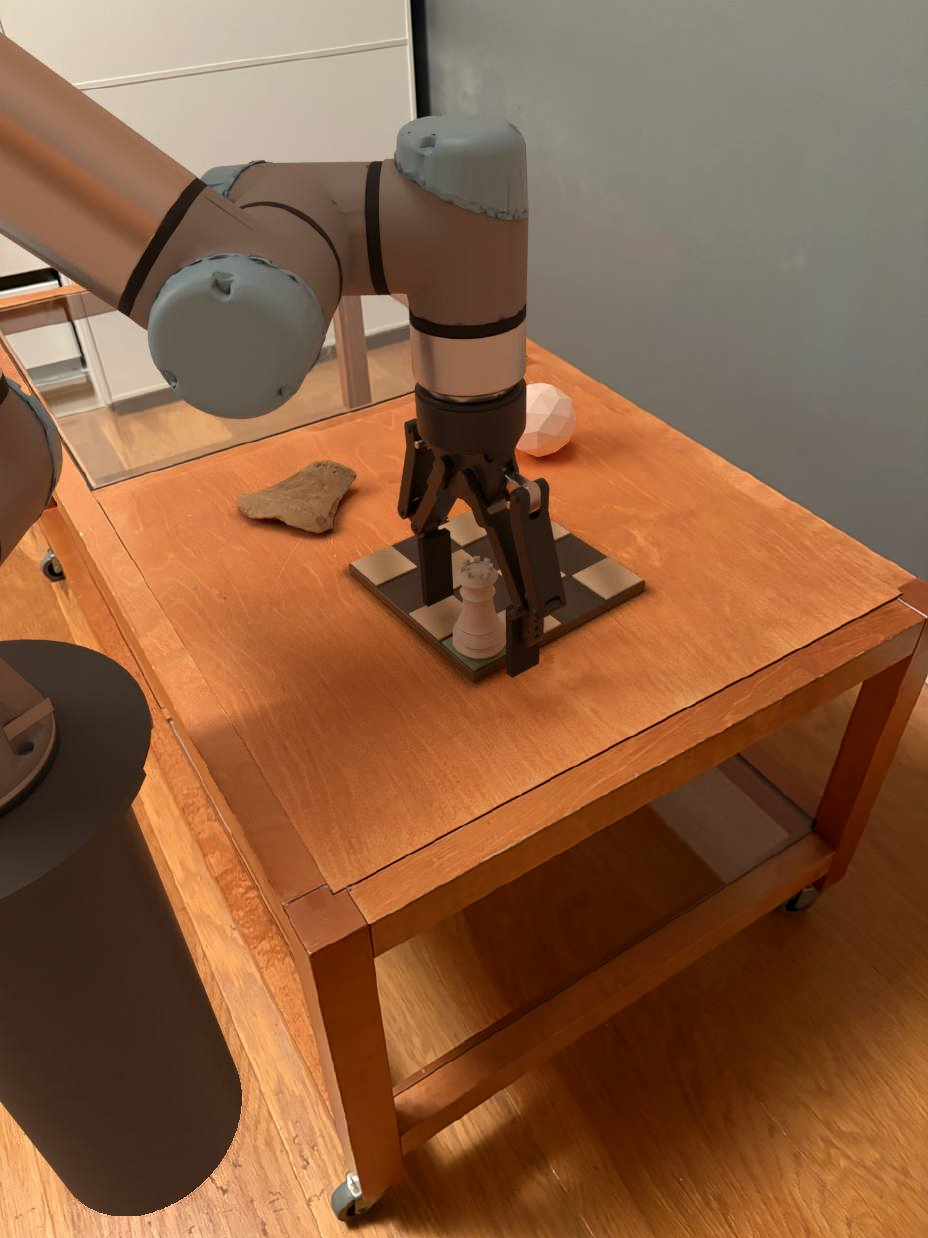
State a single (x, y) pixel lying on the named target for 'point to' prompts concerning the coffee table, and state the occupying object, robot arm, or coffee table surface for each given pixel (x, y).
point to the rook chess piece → (478, 612)
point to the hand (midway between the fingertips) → (478, 632)
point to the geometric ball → (546, 420)
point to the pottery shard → (302, 497)
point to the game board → (583, 571)
